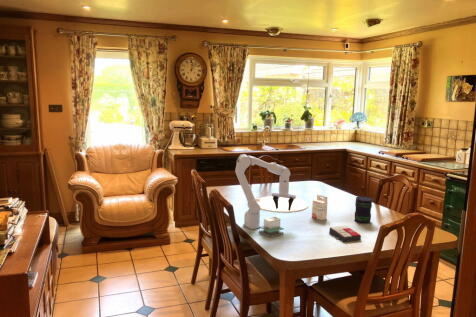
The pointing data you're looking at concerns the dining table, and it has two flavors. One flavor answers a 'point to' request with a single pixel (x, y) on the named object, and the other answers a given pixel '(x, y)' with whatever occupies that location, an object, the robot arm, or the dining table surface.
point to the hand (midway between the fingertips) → (283, 209)
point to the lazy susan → (281, 204)
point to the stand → (271, 232)
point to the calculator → (344, 233)
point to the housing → (271, 223)
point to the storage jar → (363, 210)
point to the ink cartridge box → (319, 208)
